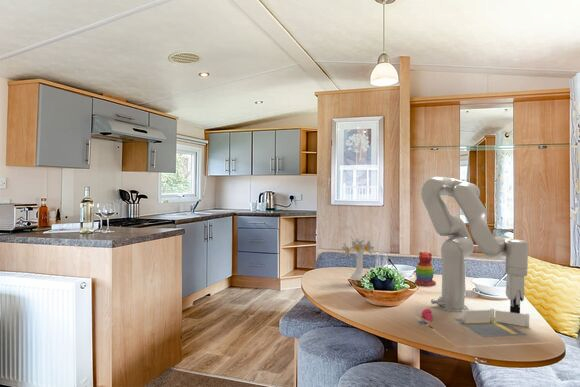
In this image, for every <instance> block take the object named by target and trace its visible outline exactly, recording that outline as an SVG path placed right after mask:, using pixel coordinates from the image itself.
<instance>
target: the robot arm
mask: <svg viewBox="0 0 580 387" xmlns="http://www.w3.org/2000/svg"><path fill="white" fill-rule="evenodd" d="M480 195H481V190H480V188H479V187H478V186H477V185H476V184H475V183H472V182H467V181H463V180H461V179H460V180H459V179H456V178H453V177H448V176H447V177H445V176H432V177H430V178H428V179H426V181H425V182H424V183H423V185H422V187H421V191H420V196H421V200H422V202H423V205H424V207H425V208H426V212H427V213H428V216H429V219H430V221H431V223H432V226H433V228H434V230H435V232H436V234H438V236H441V237H448V239H446V240H445V241H444V242H443V243H442V245H441V248H440V249H441V250H440V253H441V261H442V262H441V264H442V268H441V269H442V270H441V296H439V297H438V298H437V299H436V298H434V299H431V300H430V303H431V304H432V305H437V307H438V308H440V309H441V310H444V311H448V312H454V313H462V310H463V309H464V310H469V307H468V306H467V305H465V299H466V298H465V297H466V296H465V292H466V262H465V258H467V257H469V256H471V255H472V254H473V253H474V249H475V244H476V245H477V247H478V248H479V250H480V252H482V253H483V255H485V256H487V257H490V258H491V257H493V258H495V257H498V256H502V255H505V271H504V272H505V274H506V283H505V284H506V285H505V295H506V297H507V299H508V300H509V301H510V305H509V312H513V313H520V314H521V302H524V301H525V277H527V276H528V261H529V243H528V242H527V241H526V240H523V239H518V238H517V239H516V238H508V237H507V238H506V237H503V236H494V235H493V233H492V231H491V229H490V228H489V225H488V222H487V221H488V210H487V209H486V207H485V205H484V204H483V202H482V201H481V200H480ZM441 196H448V197H452V198H454V200H455V201H456V203H457V205H458V207H459V209H460V210H461V211H462V213H463V215H464V216H465V218H466V220H467V222H468V227H469V228H468V229H469V230H468V229H467V226H466V224H465V222H464V221H463V219H462V218H461V217H459V216H457V214H450V211H449V209H448V207H447V204H446V203H445V201H444V200H443V199H442V197H441ZM469 231H470V232H469ZM470 234H471V235H470ZM471 236H472V237H471ZM472 238H473V239H472ZM473 241H474V242H475V244H474V242H473Z"/></svg>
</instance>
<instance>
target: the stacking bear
mask: <svg viewBox="0 0 580 387" xmlns="http://www.w3.org/2000/svg"><path fill="white" fill-rule="evenodd" d="M432 256H433V254H432V252H427V251H426V252H425V251H424V252H422V251H420V252H418V259H419V260H418V261H419V262H417V264H416V269H415V281H414V283H415V284H416V285H417V284H418V286H421V287H433V286H435V285H437V282H436V281H435V280H433V278H434V273H435V272H434V271H435V270H434V267H433V264H432V263H431V262H432V259H433V258H432Z"/></svg>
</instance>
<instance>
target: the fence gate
mask: <svg viewBox="0 0 580 387" xmlns="http://www.w3.org/2000/svg"><path fill="white" fill-rule="evenodd" d="M494 318H495V322H501V323H508V324H507V325H514V326H515V325H516V326H521V327H527V328H528V327H530V318H531V317H530V313H521V312H520V313H513V312H510V311H506V310H505V311H504V310H500V309H499V310H498V309H495V312H494Z"/></svg>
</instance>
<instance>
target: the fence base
mask: <svg viewBox="0 0 580 387" xmlns="http://www.w3.org/2000/svg"><path fill="white" fill-rule="evenodd" d="M495 310H496V309H495V308H490V309H468V310H464V309H463V310H462V312H461V318H454V321H457V322H458V323H460V324H461V325H463V326H464V327H466V328H468V329H469V330H471V331H473V332H474V333H476V334H477V335H479V336H480V337H483V338H491V337H494V338H495V337H511V336H514V337H516V336H528V335H527V334H526V333H525V332H522V331H520V330H519V329H517V328H514V326H512V325H510V324H508V323H501V322H495Z"/></svg>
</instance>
